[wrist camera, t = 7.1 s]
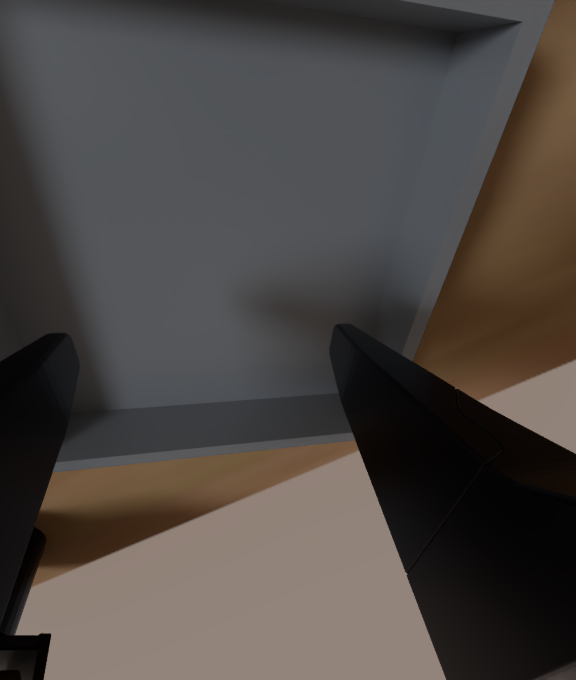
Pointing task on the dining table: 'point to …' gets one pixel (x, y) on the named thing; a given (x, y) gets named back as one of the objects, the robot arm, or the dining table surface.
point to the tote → (238, 200)
